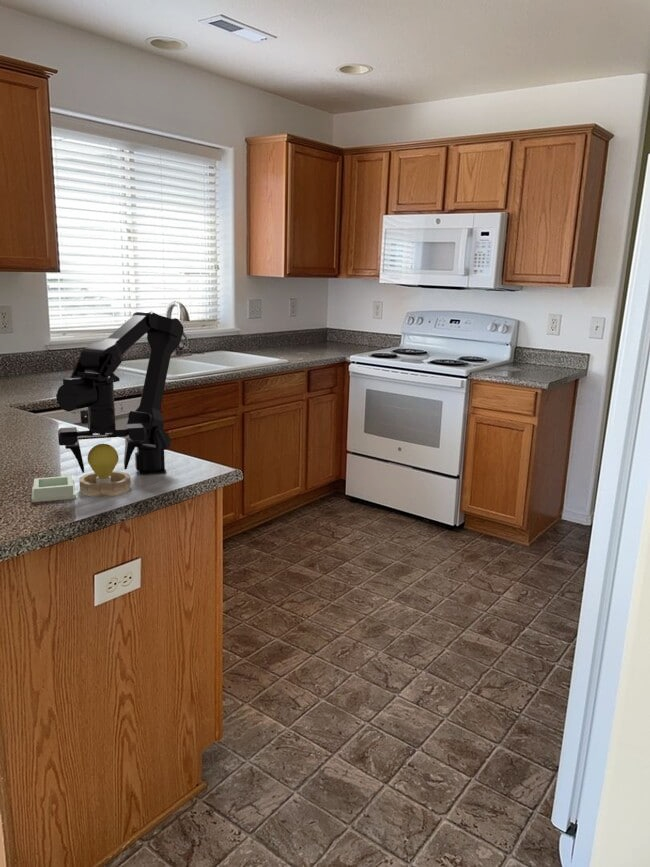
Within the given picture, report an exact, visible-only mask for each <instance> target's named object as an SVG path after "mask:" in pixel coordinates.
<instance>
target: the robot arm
mask: <svg viewBox="0 0 650 867" xmlns="http://www.w3.org/2000/svg"><path fill="white" fill-rule="evenodd" d="M132 314H133V315H132V316H131V317H130V318H129V319H127V321H125V322H124V323H123V324H122V325H121V326H120V327H118V328H117V329H116V330H115V331H113V333H111V334H110V335H109V336H108V337H106V338H105V339H103V340H100V341H96V342H93V343H91V344H88V345H87V346H86V347H83V349H82V350H81V352H80V354H79V355H80V356H79V358H78V360H77V362H76V364H75V366H74V369H73V371H72V373H71V375H70V378H63V379H62V385H60V386H59V388H58V390H57V392H56V394H55V398H56V402H57V404H58V406H59V407H60V408H61V410H63V411H65V412H73V411H77V410H80V411H79V413H80V416H79V417H80V418H79V419H80V425H81V426H84V425H85V426H86V425H87V428H88V430H80V431H78V430H77V427H72V426H71V427H60V428H59V429H58V430H57V435H58V436H57V438H58V446H60V447H61V446H65V447H64V448H65V449H66V450H70V451H71V453H72V454H73V455H74V457H75V458H76V461H77V463H78V465H79V466H78V467H79V468H80V471H81V472H82V473H83V474H84V473H85V466H84V465H85V464H84V459H83V455H82V451H81V447H80V446H81V445H80V442H79V441H80V440H94V439H109V438H112V439H113V438H124V442H125V443H124V444H125V445H124V457H123V469H124V470H127V469H128V466H129V464H130V460H131V458H132V454H133V453H134V460H135V466H134V467H135V470H136V472H138V473H139V475H153V474H154V475H155V474H165V473H167V469H166V466H165V465H166V464H165V451H166V450H168V448H170V446H171V442H172V438H171V437H170V436H169V435H168V434H167V432H166V431H165V430H164V427H165V426H164V425H165V421H164V418H163V416H162V413H161V406H162V401H163V396H164V391H165V387H166V386H165V385H166V381H167V376H168V371H169V365H170V362H171V356H172V354H173V353H174V352H175V351H176V350H177V348H179V346H180V343H181V341H182V338H183V334H184V326H183V323H182V322H181V321H180V319H179V318H175V317H167V316H163V315H160V314H158V313H156V312H153V311H151V310H150V311H149V310H148V311H146V310H137V311H135V312H134V313H132ZM145 335H146V340H147V342H148V345H149V348H150V353H149V357H148V362H147V363H148V364H147V367H146V372H145V377H144V383H143V387H142V391H141V392H142V393H141V397H140V401H139V406H138V407H137V408H136V409H135V411H134V410H133V411H132V410H131V411H130V412H129V413H128V417H127V418H128V419H127V423H126V424H125V428H116V427H117V426H116V412H115V411H116V410H115V391H114V388H115V387H114V383H117V382H120V381H121V380H120V377H119V376H117V375H116V374H115V371H116V370H117V369H118V368H119V366H120V365H121V364H122V363H123V355H124V354H125V353H126V352H127V351H128V350H130V348H132V347H133V346H134V345H135V344H136V343H137V342H138V341H139V340H140V339H141V338H142V337H144V336H145ZM86 408H87V409H86ZM81 409H82V410H81ZM85 409H86V410H85ZM135 448H136V450H137V451H136V452H134V450H135Z"/></svg>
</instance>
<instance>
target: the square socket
mask: <svg viewBox="0 0 650 867" xmlns="http://www.w3.org/2000/svg"><path fill="white" fill-rule="evenodd" d="M75 485H76V484H75V482H73V476H72V475H63V476H51V477H39V478H33V486H32V489H31V503H41V502H50V501H61V500H73V499H77V492H76V486H75Z"/></svg>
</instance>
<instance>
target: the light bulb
mask: <svg viewBox="0 0 650 867" xmlns="http://www.w3.org/2000/svg"><path fill="white" fill-rule="evenodd" d="M119 458H120V457H119V454H118V451H117V450H116V448H115V447H113V446H112V445H111V444H107V443H98V444H95V445H94V446H93V447H92V448H91V449H90V450H89V452H88V454H87V462H88V464H89V466H90V468H91V470H92V471H93V473H94V472H95V473H96V475H97V477H96V482H97V483H98V484H106V483H109V482H111V476H109V475H110V474H111V473H112V471H115V468H116V467H117V464H118V462H119V460H120V459H119Z"/></svg>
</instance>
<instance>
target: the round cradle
mask: <svg viewBox="0 0 650 867" xmlns="http://www.w3.org/2000/svg"><path fill="white" fill-rule="evenodd" d="M109 476H111V482H109V483H106V484H98V483H97V482H96V477H97V475H96V473H95V472H94V471H93V472H90V473H86V474H84V475H82V476H80V477H78V479H79V480H78V482H79V493H80V494H81V495H83V496H86V497H89V498H107V497H109V498H110V497H115V496H119V495H123V494H126V493H128V492H129V491H130V490H131V484H132V482H131V475H130V474H129V473H128V472H124V471H119V470H113V471H112V473H111V474H110V475H109ZM125 492H126V493H125Z"/></svg>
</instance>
